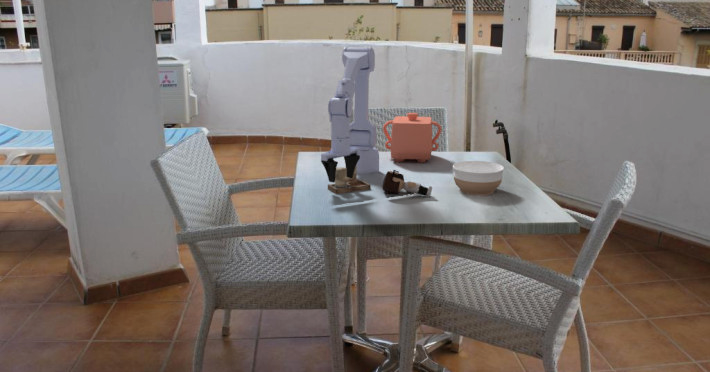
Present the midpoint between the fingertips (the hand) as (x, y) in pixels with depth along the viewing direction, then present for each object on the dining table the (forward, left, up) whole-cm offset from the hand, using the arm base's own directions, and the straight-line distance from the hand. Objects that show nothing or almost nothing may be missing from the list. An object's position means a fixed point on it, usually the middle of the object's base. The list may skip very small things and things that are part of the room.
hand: (340, 179), depth 189 cm
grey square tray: (-7, -7, -4) cm, 11 cm away
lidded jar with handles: (-47, -34, -4) cm, 58 cm away
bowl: (-40, +17, -4) cm, 44 cm away
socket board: (-3, 0, -4) cm, 5 cm away
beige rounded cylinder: (0, 0, -3) cm, 3 cm away
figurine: (-16, +12, -5) cm, 21 cm away
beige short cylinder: (-7, -7, -3) cm, 10 cm away
